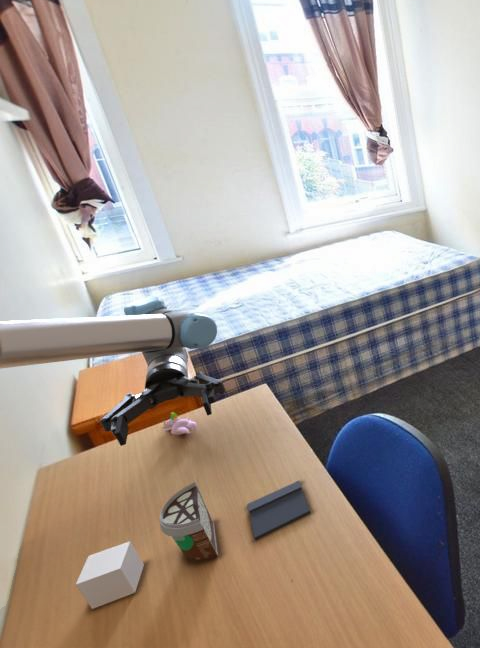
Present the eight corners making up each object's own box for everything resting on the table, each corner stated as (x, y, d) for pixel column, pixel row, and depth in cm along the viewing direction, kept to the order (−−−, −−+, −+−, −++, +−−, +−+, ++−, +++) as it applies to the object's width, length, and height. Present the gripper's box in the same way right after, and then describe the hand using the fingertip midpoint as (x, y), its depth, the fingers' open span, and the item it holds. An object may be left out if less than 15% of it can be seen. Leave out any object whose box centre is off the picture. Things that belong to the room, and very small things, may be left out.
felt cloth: (255, 540, 87) (253, 535, 87) (248, 507, 95) (247, 503, 94) (310, 512, 92) (309, 508, 92) (300, 483, 100) (298, 479, 99)
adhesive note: (135, 592, 79) (120, 568, 77) (92, 609, 77) (75, 584, 75) (144, 564, 84) (130, 540, 82) (104, 579, 82) (88, 555, 80)
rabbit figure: (160, 435, 123) (182, 444, 114) (149, 415, 122) (171, 424, 113) (185, 421, 128) (208, 430, 119) (175, 403, 126) (198, 410, 117)
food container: (177, 535, 90) (156, 496, 86) (213, 518, 93) (194, 480, 89) (178, 582, 80) (155, 540, 76) (218, 561, 83) (198, 520, 79)
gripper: (235, 372, 111) (245, 413, 94) (104, 414, 99) (89, 470, 82) (225, 344, 108) (233, 381, 91) (88, 384, 96) (69, 435, 79)
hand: (165, 423), depth 87 cm, fingers open, 13 cm apart
